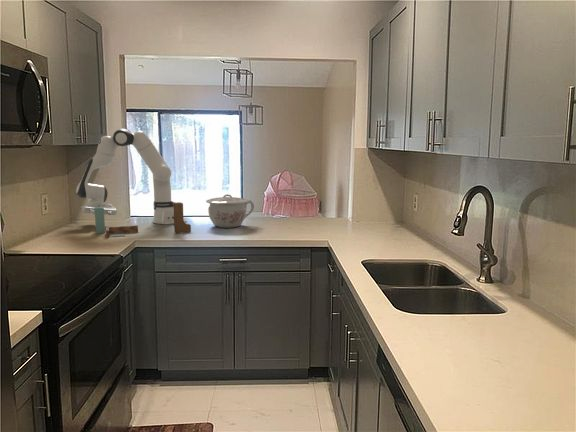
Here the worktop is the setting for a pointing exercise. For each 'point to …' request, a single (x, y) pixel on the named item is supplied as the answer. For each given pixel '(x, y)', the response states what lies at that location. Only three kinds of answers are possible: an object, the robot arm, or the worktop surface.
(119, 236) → the pad
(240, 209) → the chamber pot
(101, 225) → the painted block
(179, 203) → the wooden block
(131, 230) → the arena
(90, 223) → the worktop surface
